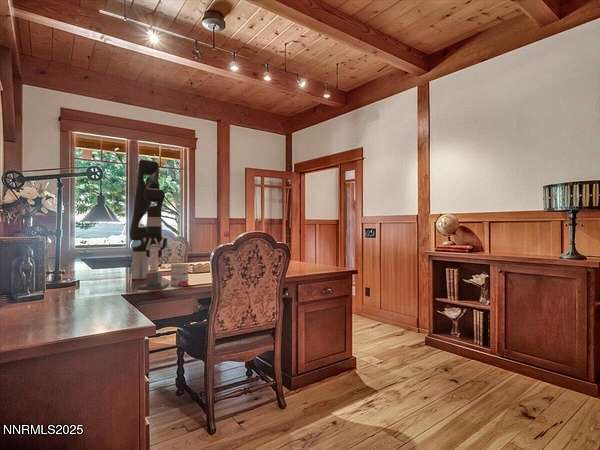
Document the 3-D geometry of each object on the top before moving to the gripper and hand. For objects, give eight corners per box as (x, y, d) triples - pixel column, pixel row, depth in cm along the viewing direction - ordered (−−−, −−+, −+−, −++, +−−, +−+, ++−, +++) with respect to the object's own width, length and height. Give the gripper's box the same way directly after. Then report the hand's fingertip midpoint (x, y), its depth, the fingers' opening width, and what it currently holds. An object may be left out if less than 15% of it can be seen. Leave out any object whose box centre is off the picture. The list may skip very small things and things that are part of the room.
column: (149, 274, 185) (149, 245, 185) (151, 273, 188) (151, 245, 188) (156, 274, 185) (156, 245, 185) (158, 273, 188) (158, 245, 188)
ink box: (188, 284, 198) (188, 263, 198) (184, 285, 193) (185, 264, 193) (174, 283, 199) (174, 263, 199) (170, 285, 194) (170, 264, 194)
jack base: (138, 289, 180) (138, 274, 180) (146, 285, 192) (146, 271, 192) (161, 289, 181) (162, 274, 181) (168, 285, 193) (168, 271, 193)
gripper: (169, 225, 191) (169, 256, 191) (142, 225, 190) (142, 256, 190) (165, 225, 184) (165, 257, 183) (137, 225, 182) (137, 257, 182)
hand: (154, 257), depth 187 cm, fingers open, 5 cm apart
